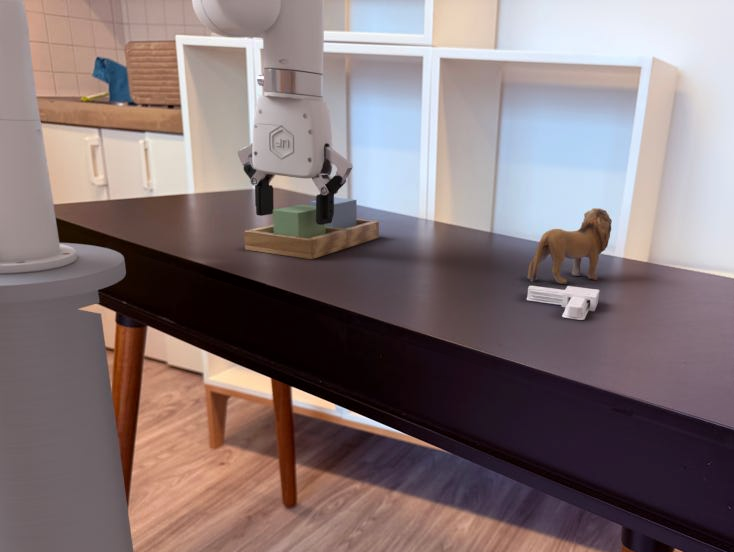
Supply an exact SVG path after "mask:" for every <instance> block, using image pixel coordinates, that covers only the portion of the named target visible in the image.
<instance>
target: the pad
mask: <svg viewBox="0 0 734 552" xmlns="http://www.w3.org/2000/svg"><path fill="white" fill-rule="evenodd" d="M272 220H273V221H272V225H273V227H274V234H282V235H289V236H296V237H303V238H312V237H316V236H319V235H323V234H325V224H323V225H319V224H317V223H316V206H310V205H309V204H297V205H291V206H286V207H281V208H275V209H274V210H273V214H272Z"/></svg>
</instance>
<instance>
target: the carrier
mask: <svg viewBox="0 0 734 552" xmlns="http://www.w3.org/2000/svg"><path fill="white" fill-rule="evenodd" d="M243 235H244V249H245V250H246V251H252V252H259V253H265V254H271V255H272V254H273V255H278V256H279V255H280V256H286V257H292V258H293V257H294V258H300V259H307V260H314V259H318V258H320V257H323V256H326V255H330V254H333V253H336V252H339V251H342V250H346V249H348V248H352V247H354V246H358V245H360V244H363V243H367V242H370V241H372V240H376V239H379V238H380V221H378V220H370V219H364V218H363V219H362V218H356V226H353V227H349V228H345V229H342V228H335V227H327V226H325V234H323V235H319V236H316V237H312V238H303V237H296V236H289V235H282V234H274V227H273V224H270V225H266V226H265V225H264V226H261V227H256V228H251V229H247V230H244V231H243Z"/></svg>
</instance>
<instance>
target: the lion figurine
mask: <svg viewBox="0 0 734 552" xmlns="http://www.w3.org/2000/svg"><path fill="white" fill-rule="evenodd" d="M583 216H584V217H583V221H582V222H581V226H580V227H579V229H578V230H571V231H569V230H568V231H567V230H564V229H561V228H552V229H550V230H547V231H545V232H544V233H543V234H542V236H541V237H540V240H539V242H538V244H537V247H536V251H535V254H534V258H533V259H532V260H531V261H530V263H529V266H528V271H527V279H528V280H529V281H530V282H532V283H533V282H536V281H537V280H538V276H537V275H538V267H539V265H540V264H541V263H543V261H545V260H546V259H547V258H548V256H549V255H550V258H551V260H552V269H551V274H552V276H553V277H554V279H555V280H556V283H558V284H561V285H565V284H566V285H567V283H568V280H567V279H566V278H564V277H563V276H561V267H562V265H563V262H564V261H565V258H566V259H569V260H573V265H572V268H571V275H572V276H574V277H575V276H576V277H578V276H581V274H582V273H581V261H582V258H588V261H589V262H588V263H589V266H588V269H587V278H588V279H589V280H595V281H596V280H598V276H597V275H596V274H595V272H596V269H597V265H598V262H599V257H600V256H599V255H601V254H602V253H603V252H604V251H606V249H607V248H608V246H609V240H610V238H611V232H612V221H613V220H612V218H611V217H610V215H609V213H608V212H607V210H605V209H603V208H597V207H596V208H591V210H587V211H586V212H585V213H584V214H583Z"/></svg>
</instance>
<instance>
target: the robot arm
mask: <svg viewBox="0 0 734 552" xmlns="http://www.w3.org/2000/svg"><path fill="white" fill-rule="evenodd" d="M191 4H192V8H193V11H194V13H195V16H196V17H197V19H198V20H199V22H201V24H202V25H203V26H204V27H205V28H206V29H208V30H209V31H211V33H214V34H216V35H218V36H221V37H225V38H257V39H258V38H259V39H262V43H263V44H262V46H263V47H262V48H263V51H262V53H263V55H262V56H263V71H262V72H263V73H262V74H263V75H261V74H259V75H257V78H256V82H257V85H258V86H261V87H263V95H261V94H259V95H258V96H257V100H256V105H255V110H254V117H253V127H252V143H250V144H248V145H246V146H245V147H244V146H243V148H241V149H239V150H238V151H237V156H238V158H239V160H240V163H241V165H242V166H243V171H244V172H245V174H246V175H247V176H248V178H249V179H250V184H251V186H253V187H254V205H255V213H256V216H259V217H262V216H268V215H273V210H274V187H273V185H271V184H270V183H271V182H272V180H273V179H274V177H275V176H280V177H289V178H297V179H311V180H312V182H313V183H314V185H315V186H316V187H317V189H318V192H319V194H316V196H315V201H316V223H317V224H319V225H323V224H328V223H331V222H332V218H333V216H334V197H335V195H336V194H338V192H339V190H340V189H341V188H342V187H343V186H344V185H345V184H346V183H347V179H348V178H349V176H350V174H351V171H352V170H353V163H352V162H351V161H349V160H348V159H346V158H345V157H344V156H343V155H341V154H340V153H339V152H337V151H336V150H335V149H333V134H332V133H333V132H332V124H331V117H330V111H329V110H330V109H329V105H328V102H327V101H324V47H325V46H324V43H325V42H324V40H325V38H324V37H325V35H324V34H325V0H191ZM31 49H32V48H31V41H30V30H29V21H28V15H27V9H26V5H25V1H24V0H0V274H14V273H27V272H36V271H43V270H50V269H55V268H59V267H63V266H66V265H69V264H71V263H73V262H74V261H76V259H77V255H76V250H75V249H74V248H72V247H70V246H66V245H62V244H59V243H60V238H59V231H58V225H57V219H56V211H55V205H54V204H55V203H54V198H53V192H52V186H51V180H50V173H49V166H48V159H47V152H46V146H45V140H44V139H45V138H44V134H43V127H42V120H41V117H40V109H39V103H38V97H37V90H36V83H35V75H34V67H33V60H32V51H31ZM333 165H334V166H335V167H336V172H335V175H333V176H331V174H332V172H333Z"/></svg>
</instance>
